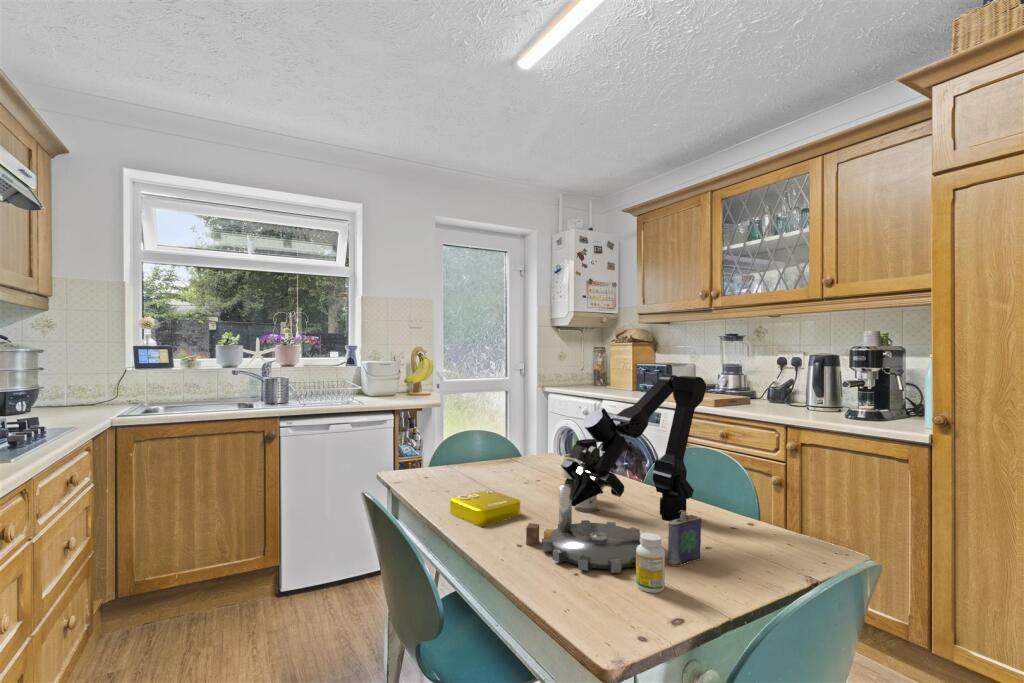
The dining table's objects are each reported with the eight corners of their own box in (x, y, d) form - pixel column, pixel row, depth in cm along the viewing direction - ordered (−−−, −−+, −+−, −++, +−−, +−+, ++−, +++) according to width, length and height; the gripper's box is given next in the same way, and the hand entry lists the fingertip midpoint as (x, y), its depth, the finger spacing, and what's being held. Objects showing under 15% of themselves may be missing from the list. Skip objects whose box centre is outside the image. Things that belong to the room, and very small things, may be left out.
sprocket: (674, 546, 116) (675, 491, 116) (624, 584, 97) (625, 518, 97) (579, 521, 132) (580, 473, 132) (520, 550, 112) (521, 493, 113)
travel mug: (597, 513, 141) (598, 441, 142) (573, 511, 143) (574, 440, 143) (598, 506, 148) (598, 437, 148) (575, 504, 149) (576, 436, 149)
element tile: (480, 528, 129) (480, 509, 129) (446, 513, 140) (447, 496, 140) (523, 516, 139) (523, 498, 139) (489, 503, 150) (489, 487, 150)
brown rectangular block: (539, 541, 120) (539, 524, 120) (536, 545, 117) (536, 528, 117) (529, 539, 120) (529, 523, 120) (526, 544, 117) (526, 527, 117)
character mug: (594, 501, 152) (594, 458, 152) (574, 505, 149) (575, 460, 149) (572, 492, 162) (572, 451, 162) (553, 495, 158) (554, 453, 158)
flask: (674, 567, 106) (674, 515, 106) (663, 562, 108) (663, 512, 109) (703, 559, 111) (704, 509, 111) (692, 554, 113) (693, 506, 113)
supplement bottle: (657, 596, 93) (657, 543, 93) (630, 587, 97) (631, 536, 97) (669, 586, 97) (669, 536, 97) (643, 578, 101) (643, 529, 101)
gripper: (567, 427, 132) (530, 474, 127) (615, 438, 116) (575, 493, 110) (590, 455, 136) (556, 502, 130) (640, 469, 120) (603, 524, 114)
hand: (571, 504), depth 121 cm, fingers closed, pressing on sprocket
